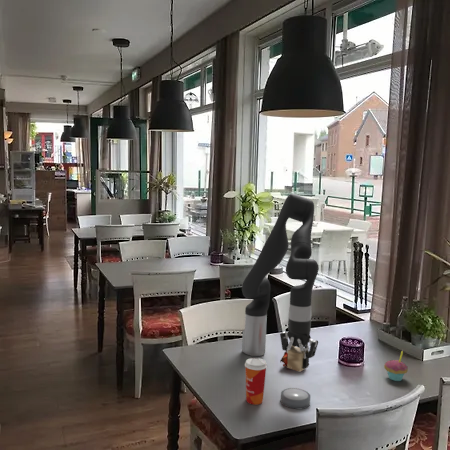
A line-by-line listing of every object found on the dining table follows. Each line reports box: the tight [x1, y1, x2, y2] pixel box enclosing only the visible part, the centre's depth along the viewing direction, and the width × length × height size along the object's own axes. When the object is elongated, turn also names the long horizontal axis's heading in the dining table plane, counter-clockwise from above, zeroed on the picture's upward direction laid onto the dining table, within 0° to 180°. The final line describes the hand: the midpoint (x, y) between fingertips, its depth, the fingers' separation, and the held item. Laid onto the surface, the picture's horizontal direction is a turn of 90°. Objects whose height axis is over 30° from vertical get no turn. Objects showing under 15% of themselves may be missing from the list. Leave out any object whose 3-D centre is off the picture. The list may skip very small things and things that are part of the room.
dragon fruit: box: [280, 350, 287, 368], centre depth 197 cm, size 8×8×12 cm
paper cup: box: [244, 357, 268, 406], centre depth 167 cm, size 8×8×14 cm
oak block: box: [286, 346, 309, 373], centre depth 167 cm, size 5×5×6 cm
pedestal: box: [280, 387, 311, 409], centre depth 168 cm, size 10×10×3 cm
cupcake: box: [383, 349, 409, 382], centre depth 189 cm, size 9×8×12 cm
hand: (297, 365), depth 167 cm, fingers closed on oak block, 5 cm apart
